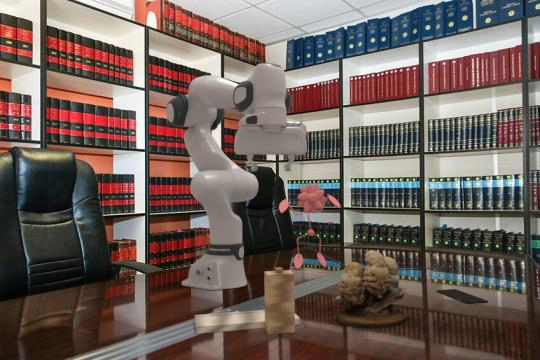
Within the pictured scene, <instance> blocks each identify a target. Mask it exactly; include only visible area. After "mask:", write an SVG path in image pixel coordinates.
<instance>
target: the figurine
mask: <svg viewBox="0 0 540 360" xmlns="http://www.w3.org/2000/svg"><path fill="white" fill-rule="evenodd" d="M299 190H300V192H301V193H299V194H298V195H297V199H298V202H297V207H298V208H302V207H303V211H301V212H296V211H295V210H294V209H293V208H292V206H291V205H290V203H289V201H288V200H287V199H286V198H285V199H284V200H281V202H280V203H279V205H278V206H279V207H278V210H279V211H280V214H283V213H284V212H286V211H287V210H288V208H289V209H291V211H292V212H293V214H294V215H295V216H297V215H301V214H303V213H305V214H307V221H308V224H309V228H310V229H308V230H307V233H306V234H303V235H302V236H299V237H297V238H296V244H297V254H295V256H294V257H293V264H294V267H295V269H296V270H299V269H300V268H301V267H302V266H303V263H304V258H303V254H301V253H300V249H299V247H300V246H299V239H301V238H303V237H305V236H310V237H312V236H316V237H317V238H318V239H319V250H321V245H322V243H321V242H322V241H321V237H320V236H319V235H317V234H316V233H315V231H314V229H312V225H311V220H310V213H312V214H314V215H315V214H316V213H322V211H323V210H324V207H325V205H326V203H327V201H328V199H329V201H330V202H331V204H333V205H334V206H336V207H337V208H340V209H341V208H342V207H341V206H342V205H341V204H340V202H339V201H338V199H336V197H334V196H332V195H330V194H327V195H326V196H327V197H326V196H324V194H325V189H323V188H321V189H320V185H319V184H318V183H314V185H313V184H311V183H307V185H306V186H300V188H299ZM316 256H317V261H316V262H317V263H316V267H318V266H319V263H320V265H322V266H323V267H324V268H327V264H326V263H327V262H326V259H325V257H324V256H323V254H322V253H321V252H317V254H316ZM337 270H338V268H337V269H334V270H333V272H335V271H337ZM330 272H332V270H331V271H328V273H330ZM324 273H326V271H324V272H319V274H324Z"/></svg>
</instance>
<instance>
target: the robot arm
mask: <svg viewBox="0 0 540 360" xmlns="http://www.w3.org/2000/svg"><path fill="white" fill-rule="evenodd" d="M286 82H287V81H286V75H285V70H284V68H283V66H281V65H279V64H276V63H272V62H271V63H270V62H260V63H258V64H256V66H255V68H254V71H253V73H252V74H251V75H250V76H249V77H248V78H247V79H246V80H244V81H241V82H240V83H237V82H235V81H231V80H229V79H227V78H224V77H221V76H217V75H202V76H198V77H196V78H194V79H192V80H191V82H190V84H189V85H188V86H189V87H188V93H187V94H182V93H179V94H178V95H177V96H175V97H174V98H171V99H170V100H169V102H168V103H167V105H166V109H165V111H166V113H165V114H166V118H167V121H168V123H170V125H171V126H173V127H175V128H176V127H177V128H182V127H187V129H186V131H185V132H184V134H183V141H184V144H185V148H186V151H187V154H189V157H190V158H191V160H192V162H193V164H194V166H195V167H196V169H197V170H198V172H196V173H195V174H194V175H193V177H192V179H191V180H190V181H191V182H190V192H191V194H192V196H193V198H194V199H195V200H196V201H197V202H199V203H200V204H201V206H202V207H203V209H204V210H205V212H206V214H207V215H206V216H207V218H208V223H209V224H208V225H209V226H208V227H209V243H207V244H205V245H203V246H202V247H204V248H202V249H203V250H205V254H203V255H202V256H201V257H200V258H199V259H197V260H196V261H195V262H194V263H193V264H191V266H190V268H189V271H188V277H187V278H185V279H184V280H182V281H181V286H184V287H190V288H197V289H202V290H209V291H220V290H227V289H229V290H230V289H236V288H241V287H245V286H247V285H248V280H247V277H246V272H245V271H246V270H245V265H244V256H245V255H244V254H245V249H244V248H245V246H244V241H243V222H242V221H243V220H242V218H241V217H240V216H239V215H237V214H236V213H234V212H233V209H232V207H231V203H242V202H246V201H250V200H252V199H254V198H255V197H256V196H257V194H258V192H259V181H258V178H257V177H256V175H254V174H253V173H251V172H257V171H258V163H257V164H255V162H254V160H253V158H254V155H257V156H260V155H266V156H267V155H269V156H270V155H271V156H274V155H276V156H280V155H281V156H283V155H284V156H287V159H288V162H287V164H284V165H283V167H284V172H291V171H292V164H293V162H294V161H295V159H296V156H303V155H306V153H307V152H308V144H307V142H308V141H307V135H308V132H307V131H308V130H307V126H306V124H303V123H302V122H300V121H297V122H295V121H287V115H288V114H289V111H290V110H291V108H292V104H293V99H292V95H291V93H290V91H289V89H288V88H287V84H286ZM232 108H233V109H234V108H235V109H236V110H237V111H238V112H239V113H240V114H241V113H242V114H245V115H247V116H243V117H241V118H240V119H239V121H238V129H237V130H236V132H235V137H234V142H233V144H234V145H233V146H234V147H233V152H234V153H235V154H236V155H246V159H247V161H248V162H249V164H250V171H251V172H248V171H247V170H244V169H243V168H242V167H240V166H239V165H237V164H236V163H235V162H234V161H233V160H232V159H230V158H229V157H228V156H227V155H226V154H225V153H224V151H223V150H222V148H221V147H220V146H219V145H220V144H218V142H217V141H216V139H215V137H213V135H212V132H211V131H215V130H217V128H218V126H219V125H220V124H221V123H222V121H223V120H224V118H225V109H232Z"/></svg>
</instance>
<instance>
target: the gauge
mask: <svg viewBox="0 0 540 360" xmlns="http://www.w3.org/2000/svg"><path fill="white" fill-rule="evenodd" d="M283 268H284V267H275V270H267V271H264V275H263V276H264V277H263V279H264V281H263V282H264V310H265V328H264V330H265V331H266V333H267V335H279V334H289V333H296V325H295V314H296V313H295V312H296V309H295V308H296V306H295V305H296V302H295V301H296V300H295V299H296V298H295V296H296V295H295V290H296V289H295V272H293V271H292V270H290V269H288V270H287V269H285V270H284V269H283Z"/></svg>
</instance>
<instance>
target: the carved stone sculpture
mask: <svg viewBox="0 0 540 360" xmlns="http://www.w3.org/2000/svg"><path fill="white" fill-rule="evenodd" d="M364 261H365V263H366V267H365V268H364V266H363V265H362V264H360V263H359V262H356V261H350V262H348V263H346V266H345V268H344V273H343V274H341V277H340V283H339V292H340V294H341V295H337V296H336V297H335V298H334V302H335V303H336V304H337V305H341V306H343V309H341V310H340V311H339V313H337V314H336V315H335V318H336V321H337V322H338V323H339V324H341V325H343V326H346V327H350V328H360V329H361V328H367V329H372V328H389V327H394V326H397V325H401V324H403V323H404V322H405V321H406V315H405V314H404V313H403V312H402V311H401V310H400V309H398V308H397V307H396V306H395V304H393V303H394V302H397V301H399V300H400V301H401V300H402V299H403V297H404V295H406V294H407V291H406V287H405V286H400V276H399V274H398V273H399V265H398V263H397V261H396V259H394V258H392V257H390V256H384V255H383V254H381V252H379V251H377V250H373V249H370V250H368V251H367V252H366V253H365V254H364Z"/></svg>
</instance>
